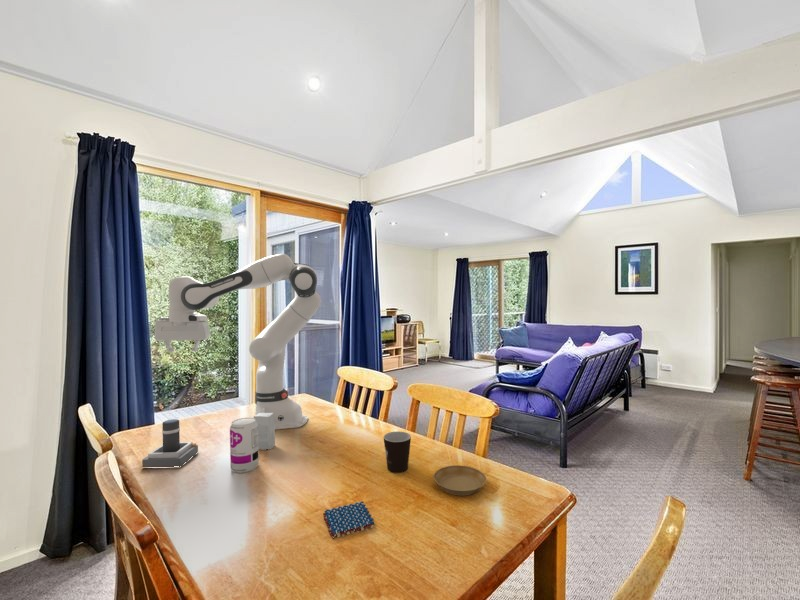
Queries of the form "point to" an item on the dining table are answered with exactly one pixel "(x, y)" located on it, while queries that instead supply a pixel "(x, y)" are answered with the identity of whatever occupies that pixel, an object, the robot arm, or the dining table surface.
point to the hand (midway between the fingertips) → (182, 351)
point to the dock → (170, 456)
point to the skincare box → (265, 430)
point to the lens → (171, 435)
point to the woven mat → (348, 519)
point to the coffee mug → (397, 451)
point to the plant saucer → (460, 479)
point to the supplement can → (244, 445)
